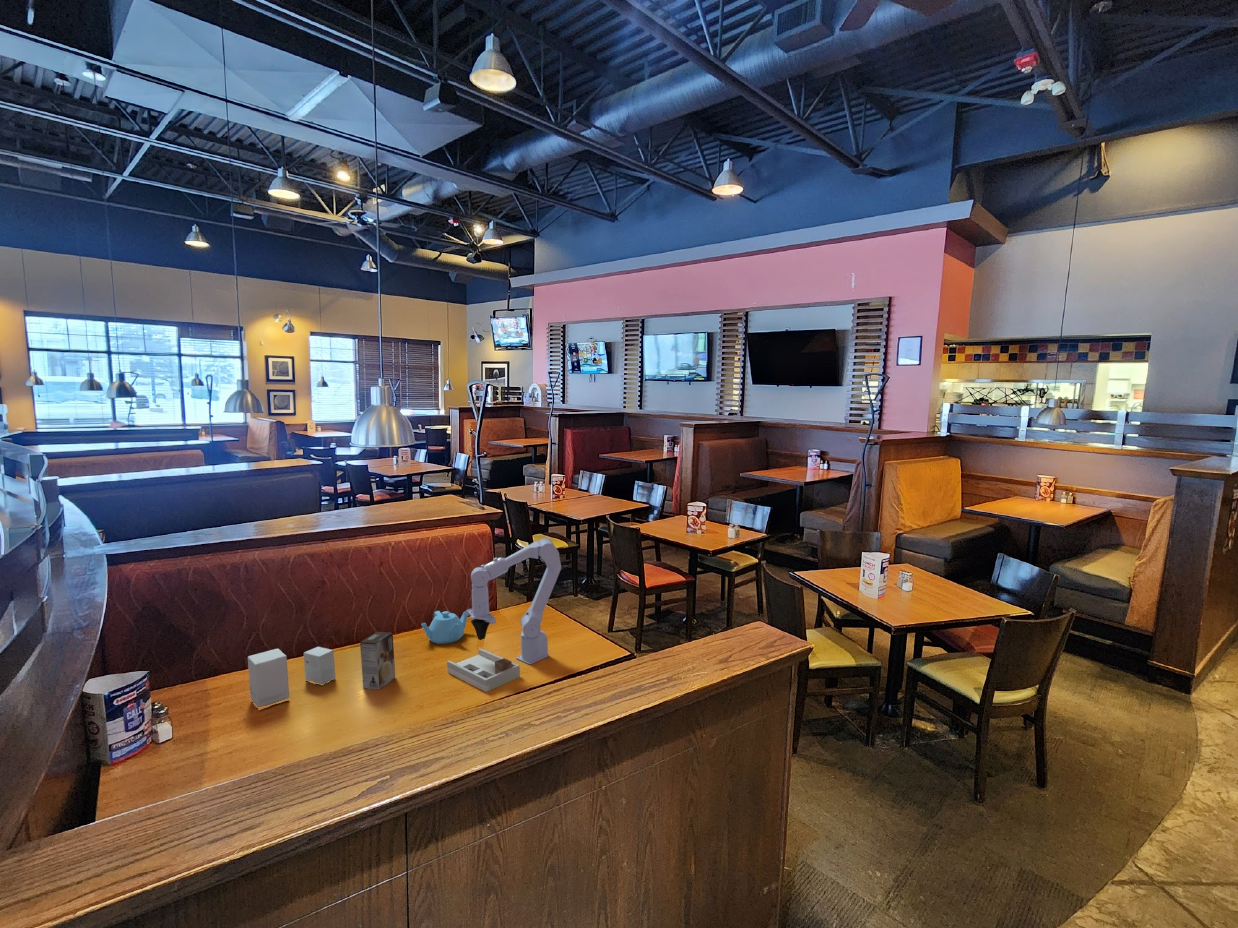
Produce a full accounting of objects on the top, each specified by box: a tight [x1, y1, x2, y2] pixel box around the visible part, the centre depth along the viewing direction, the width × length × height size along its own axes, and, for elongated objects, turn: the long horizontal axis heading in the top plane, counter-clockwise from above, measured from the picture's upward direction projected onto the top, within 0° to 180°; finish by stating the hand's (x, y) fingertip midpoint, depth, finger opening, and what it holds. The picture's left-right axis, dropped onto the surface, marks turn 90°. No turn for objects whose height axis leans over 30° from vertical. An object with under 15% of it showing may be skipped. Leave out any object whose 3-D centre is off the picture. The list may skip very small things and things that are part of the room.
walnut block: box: [495, 657, 513, 674], centre depth 195 cm, size 4×4×4 cm
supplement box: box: [247, 648, 290, 707], centre depth 181 cm, size 9×9×15 cm
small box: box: [303, 646, 337, 684], centre depth 195 cm, size 8×6×10 cm
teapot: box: [420, 610, 469, 645], centre depth 230 cm, size 15×15×11 cm
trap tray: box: [446, 647, 521, 693], centre depth 198 cm, size 14×22×4 cm, turn 49°
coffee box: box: [359, 631, 396, 690], centre depth 193 cm, size 9×6×16 cm
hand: (481, 638), depth 206 cm, fingers closed
